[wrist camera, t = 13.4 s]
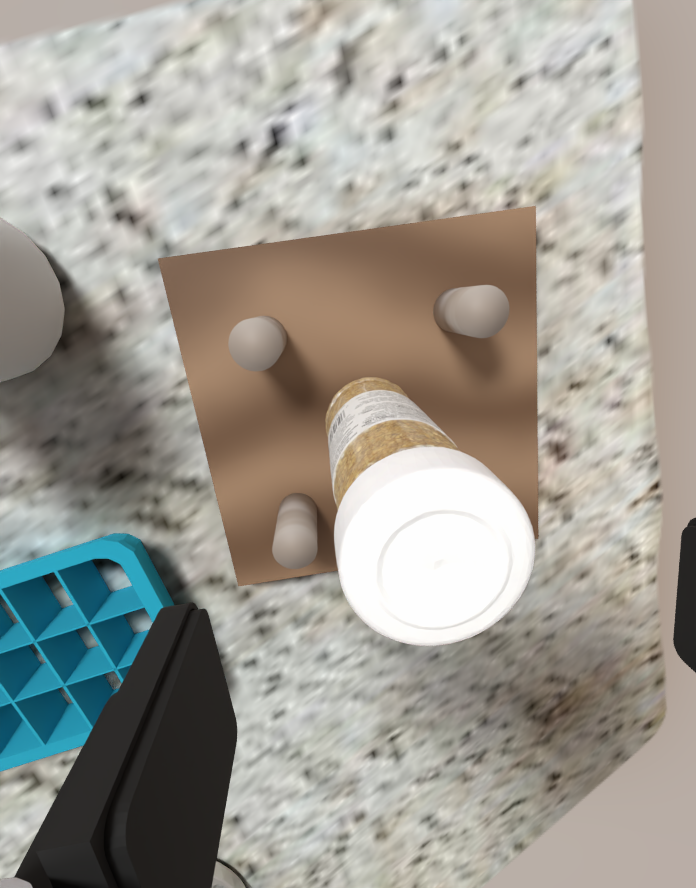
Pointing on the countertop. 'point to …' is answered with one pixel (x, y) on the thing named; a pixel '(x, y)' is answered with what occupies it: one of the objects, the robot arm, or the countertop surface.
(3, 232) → the can
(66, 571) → the ice cube tray
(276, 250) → the peg board
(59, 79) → the countertop surface
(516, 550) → the sprinkles bottle
